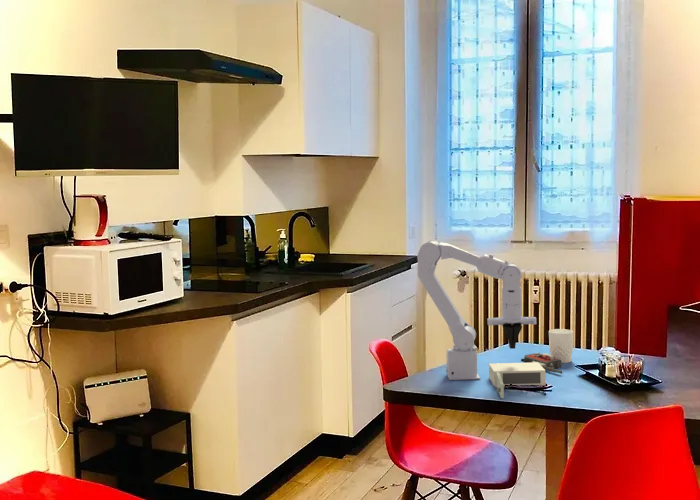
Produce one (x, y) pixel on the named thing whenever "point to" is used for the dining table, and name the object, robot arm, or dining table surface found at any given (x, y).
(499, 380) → the side door
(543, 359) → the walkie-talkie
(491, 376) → the device housing
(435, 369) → the dining table surface
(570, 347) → the white cup
